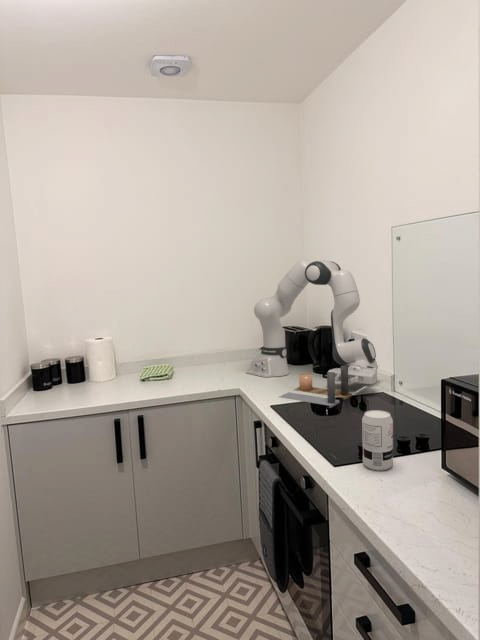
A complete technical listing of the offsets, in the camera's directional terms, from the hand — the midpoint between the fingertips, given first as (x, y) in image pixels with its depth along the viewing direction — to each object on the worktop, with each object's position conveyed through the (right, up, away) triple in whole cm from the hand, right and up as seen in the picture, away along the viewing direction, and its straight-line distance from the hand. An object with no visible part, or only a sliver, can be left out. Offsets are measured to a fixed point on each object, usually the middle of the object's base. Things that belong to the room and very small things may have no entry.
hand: (343, 380), depth 202 cm
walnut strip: (-7, -7, +8) cm, 13 cm away
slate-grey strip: (-15, -8, -1) cm, 17 cm away
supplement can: (-4, -16, -63) cm, 66 cm away
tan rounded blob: (-14, -5, +13) cm, 20 cm away
